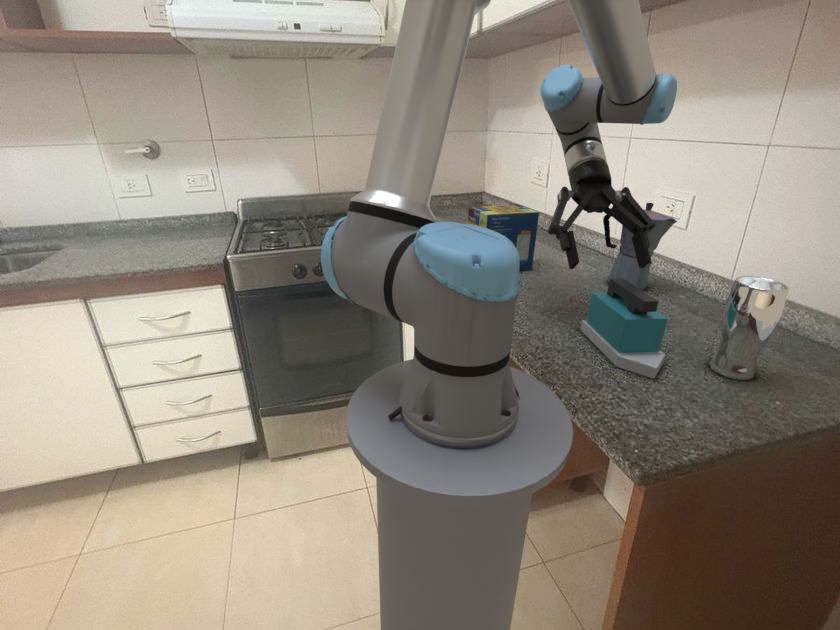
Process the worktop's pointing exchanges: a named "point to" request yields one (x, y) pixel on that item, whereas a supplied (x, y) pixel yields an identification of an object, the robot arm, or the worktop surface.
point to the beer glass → (747, 325)
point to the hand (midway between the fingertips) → (610, 265)
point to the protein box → (510, 227)
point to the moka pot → (627, 258)
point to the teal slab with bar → (627, 327)
